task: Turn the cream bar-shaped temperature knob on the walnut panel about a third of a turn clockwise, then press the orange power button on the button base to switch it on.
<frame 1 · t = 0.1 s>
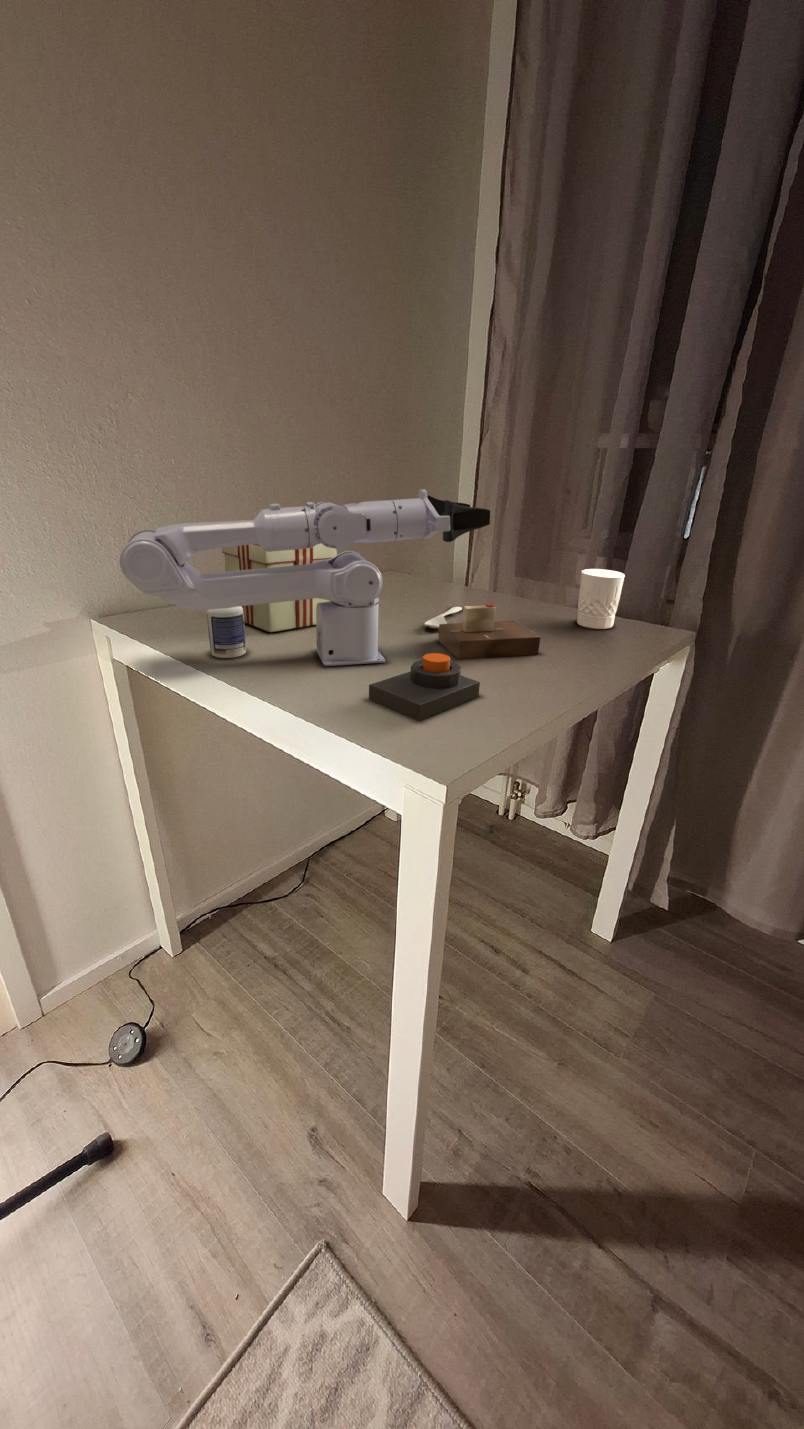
hand: (478, 514, 93), 22 cm above the table, tool horizontal, fingers open, 7 cm apart
pill bottle: (228, 654, 96), on the table
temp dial: (478, 617, 101), point 5 cm above the table, hinge at 0.0°
power button: (436, 663, 81), point 4 cm above the table, slide at 0.1 cm
button base: (424, 698, 82), on the table
white cup: (594, 625, 120), on the table
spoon: (445, 620, 119), on the table
gift box: (285, 618, 116), on the table
dial panel: (487, 647, 104), on the table
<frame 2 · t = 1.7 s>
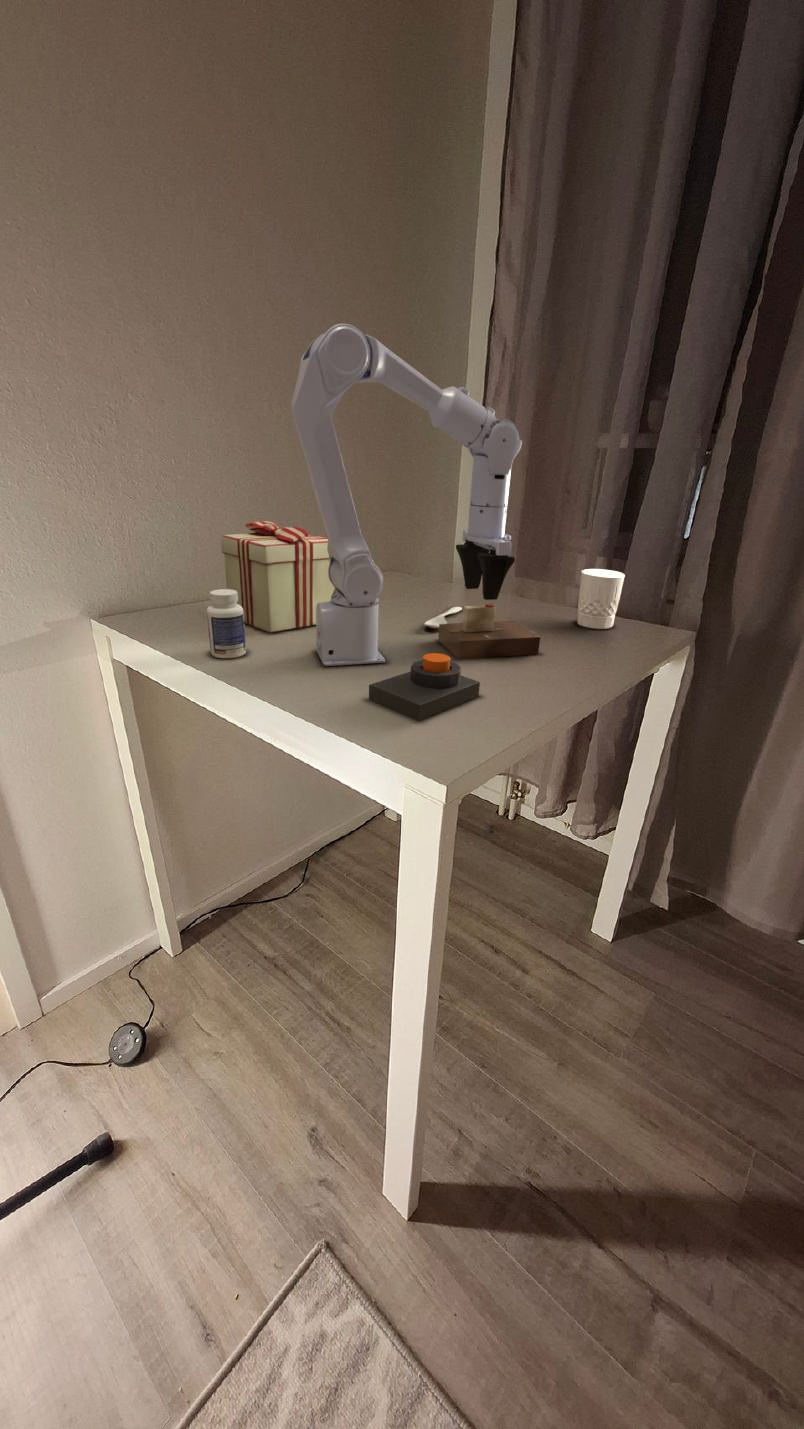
hand: (480, 593, 99), 9 cm above the table, tool pointing down, fingers open, 7 cm apart
nothing on the table moved.
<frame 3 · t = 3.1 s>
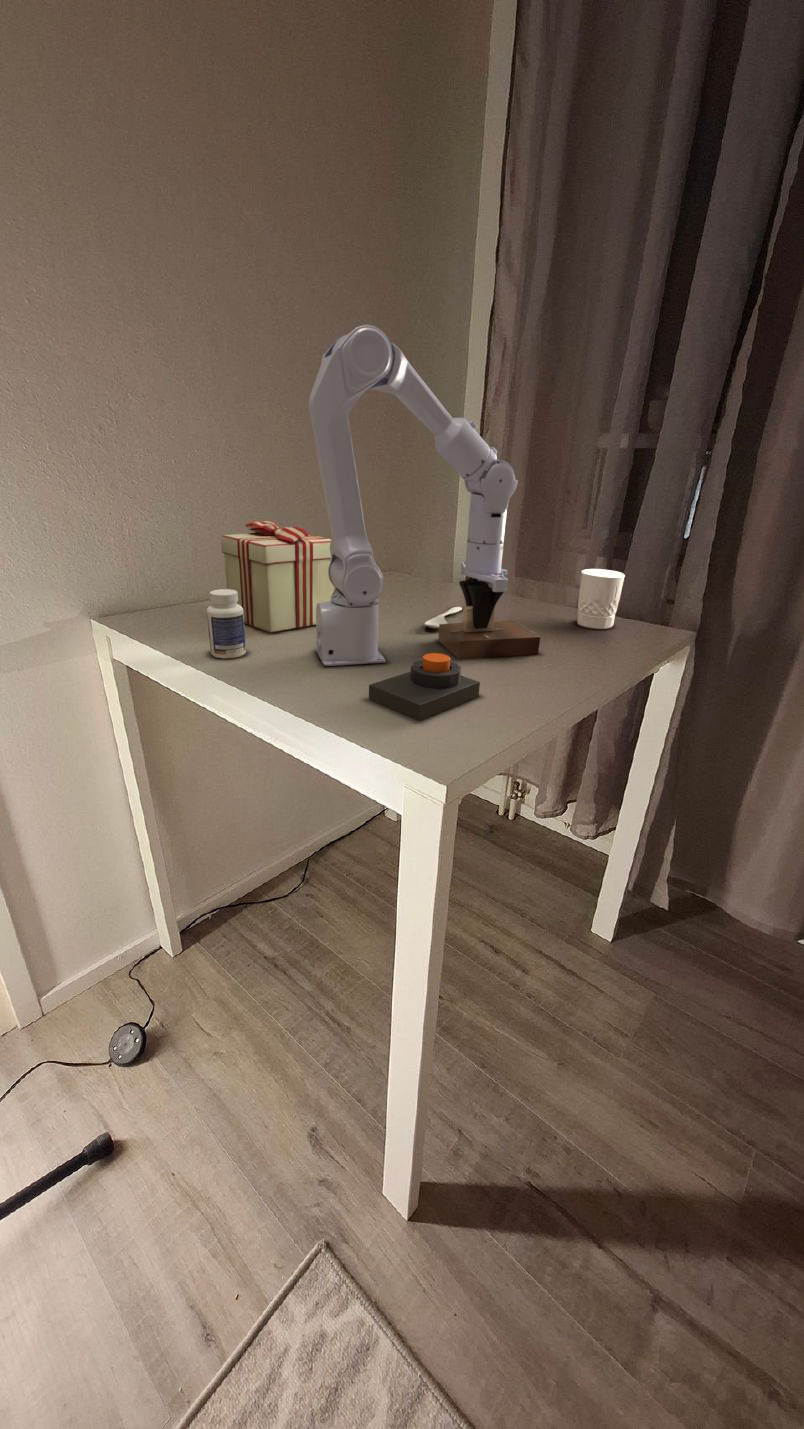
hand: (478, 626, 102), 4 cm above the table, tool pointing down, fingers closed on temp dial, 2 cm apart
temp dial: (478, 617, 101), point 5 cm above the table, hinge at 0.0°, touching gripper
everything else where it was.
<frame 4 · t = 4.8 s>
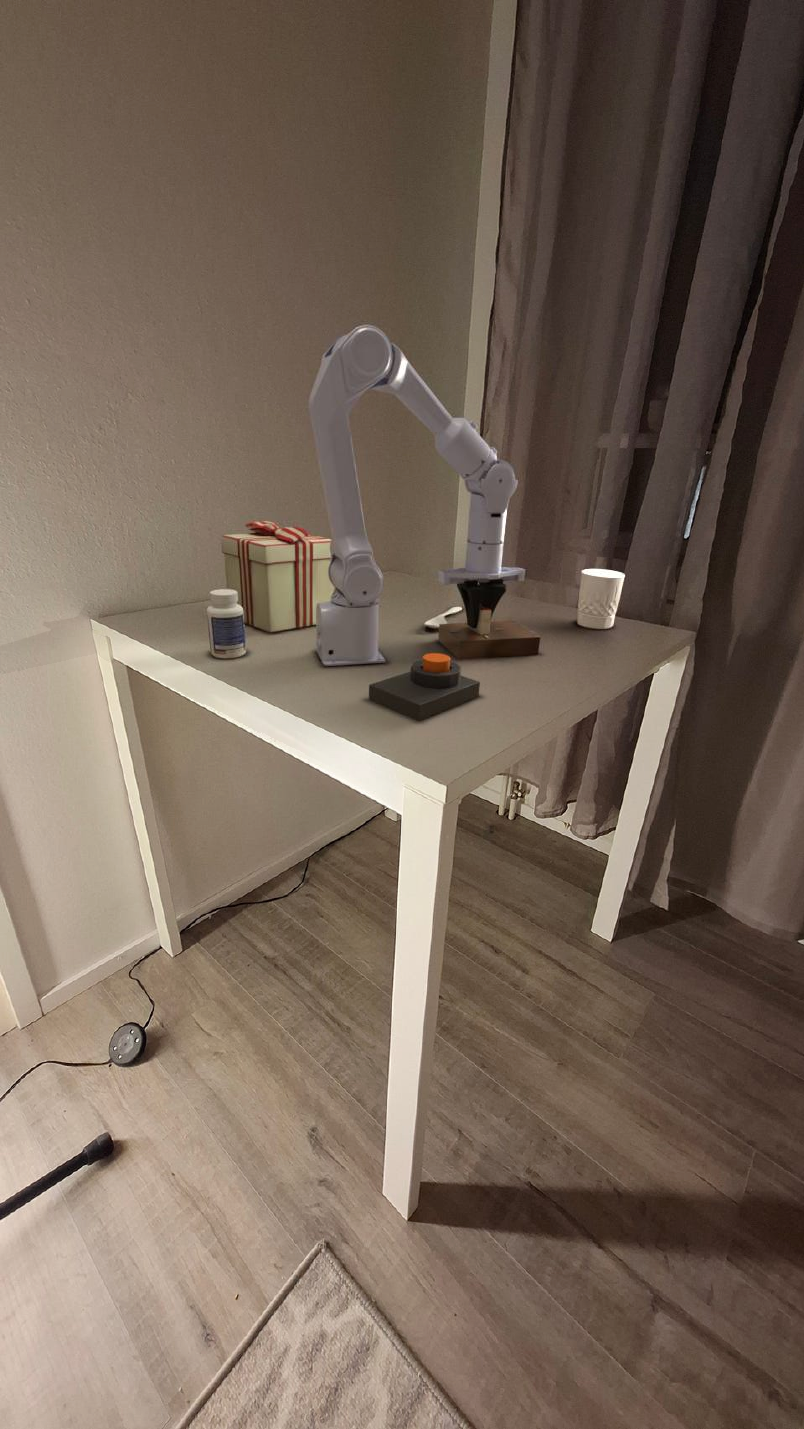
hand: (477, 626, 102), 4 cm above the table, tool pointing down, fingers closed on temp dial, 2 cm apart
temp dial: (478, 617, 101), point 5 cm above the table, hinge at -84.5°, touching gripper
everything else where it was.
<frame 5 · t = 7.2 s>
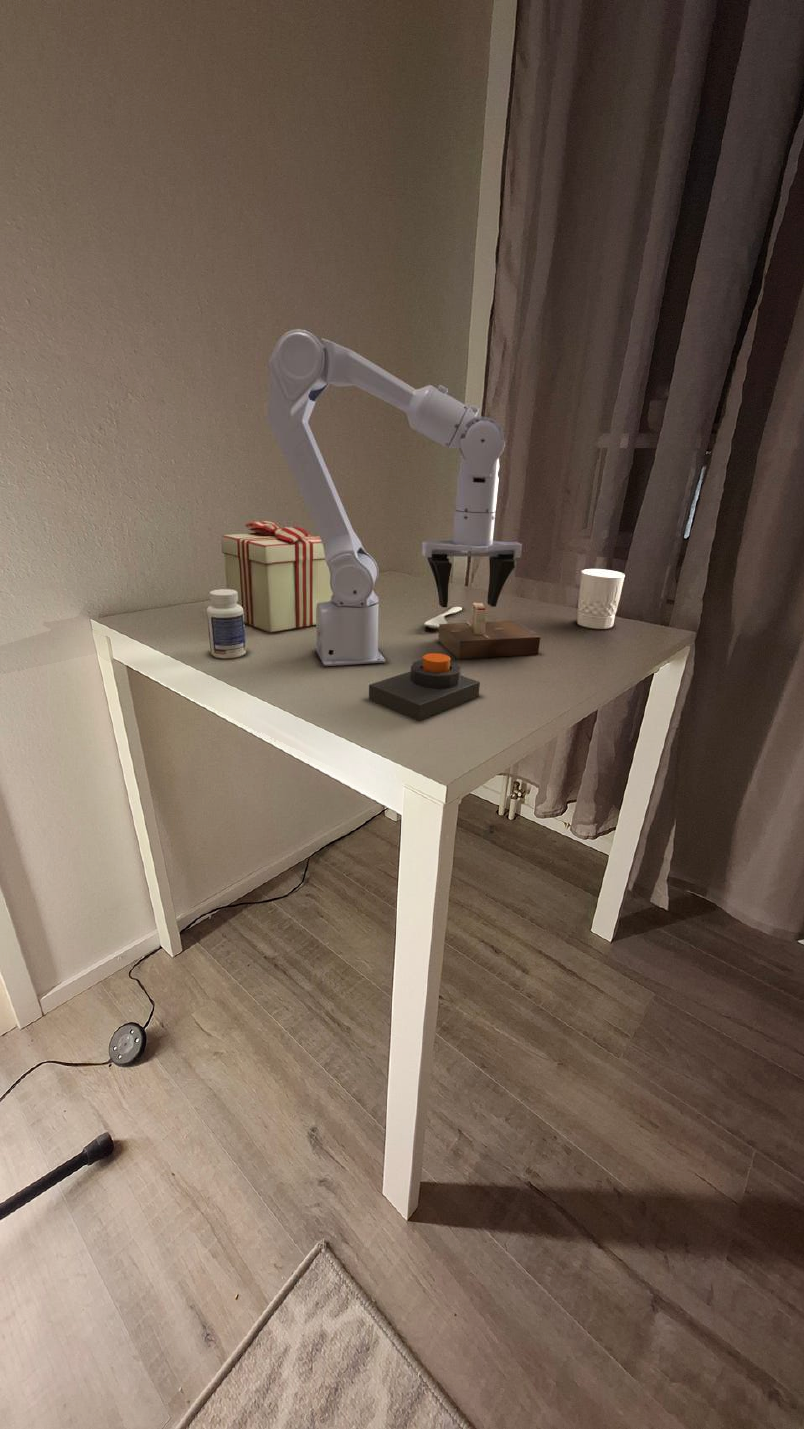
hand: (467, 605, 93), 9 cm above the table, tool pointing down, fingers open, 7 cm apart
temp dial: (478, 617, 101), point 5 cm above the table, hinge at -105.0°
everything else where it was.
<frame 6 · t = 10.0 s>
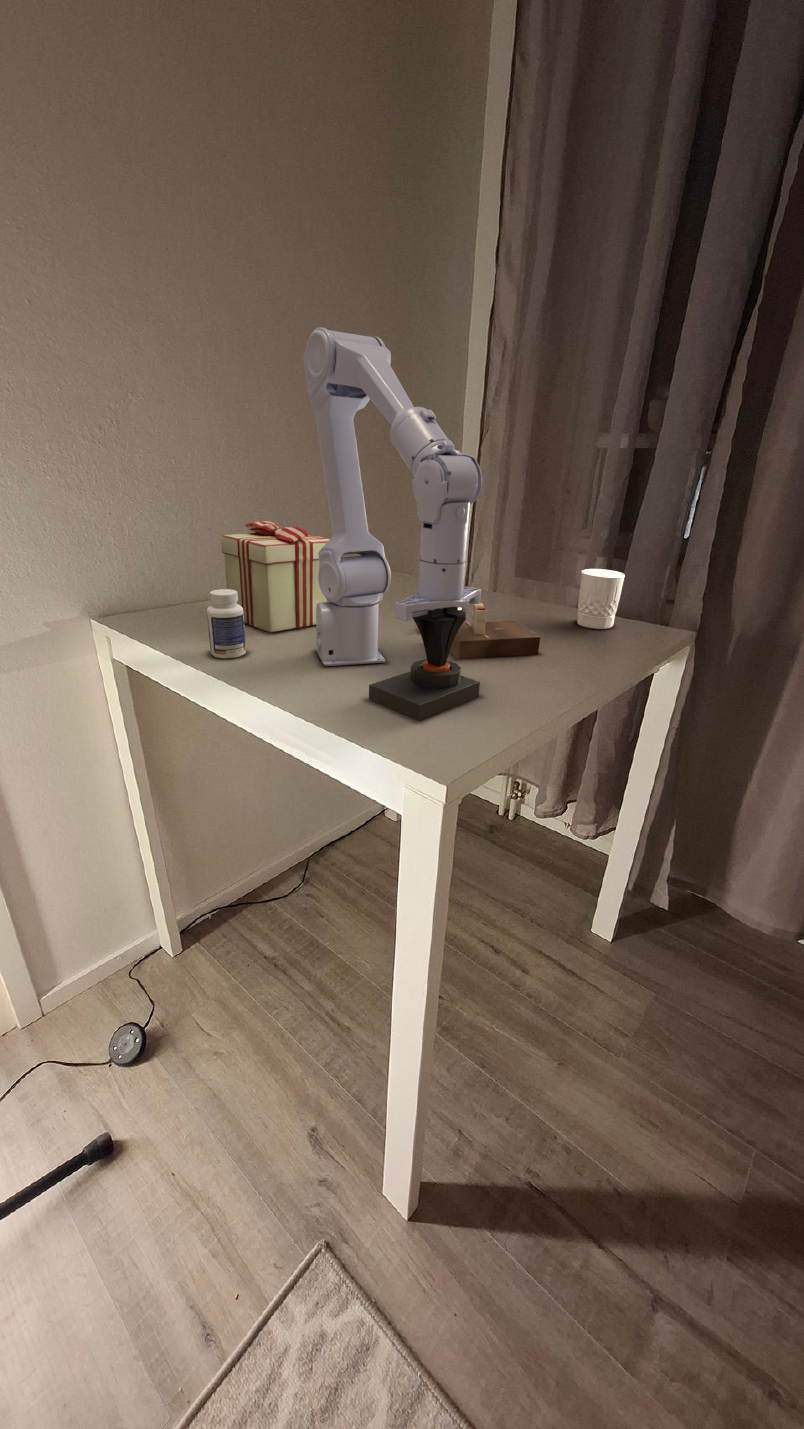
hand: (436, 664, 81), 4 cm above the table, tool pointing down, fingers closed, pressing on power button
power button: (435, 670, 82), point 4 cm above the table, slide at -0.8 cm, touching gripper
everything else where it was.
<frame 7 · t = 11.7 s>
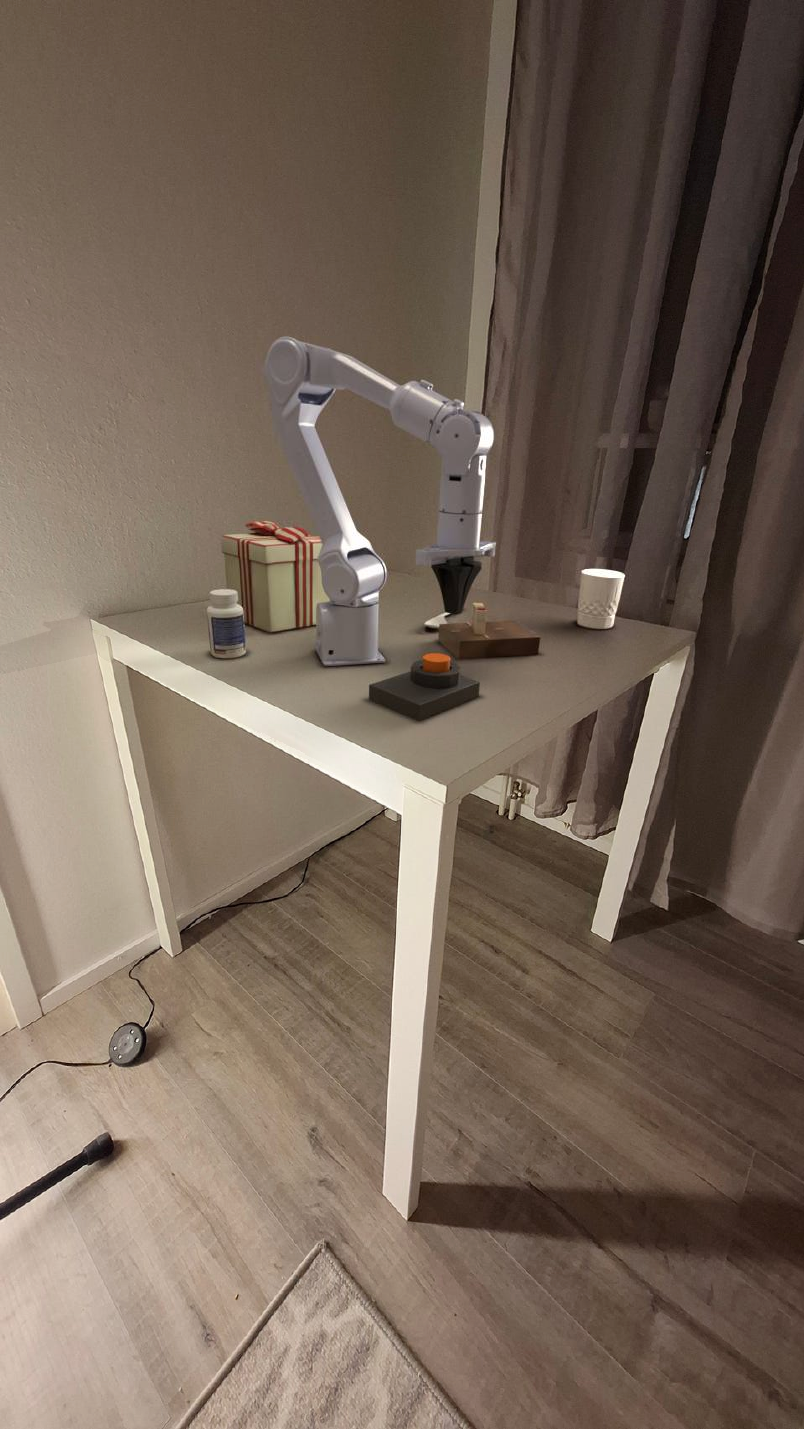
hand: (453, 612, 87), 9 cm above the table, tool pointing down, fingers closed
power button: (436, 663, 81), point 4 cm above the table, slide at 0.1 cm
everything else where it was.
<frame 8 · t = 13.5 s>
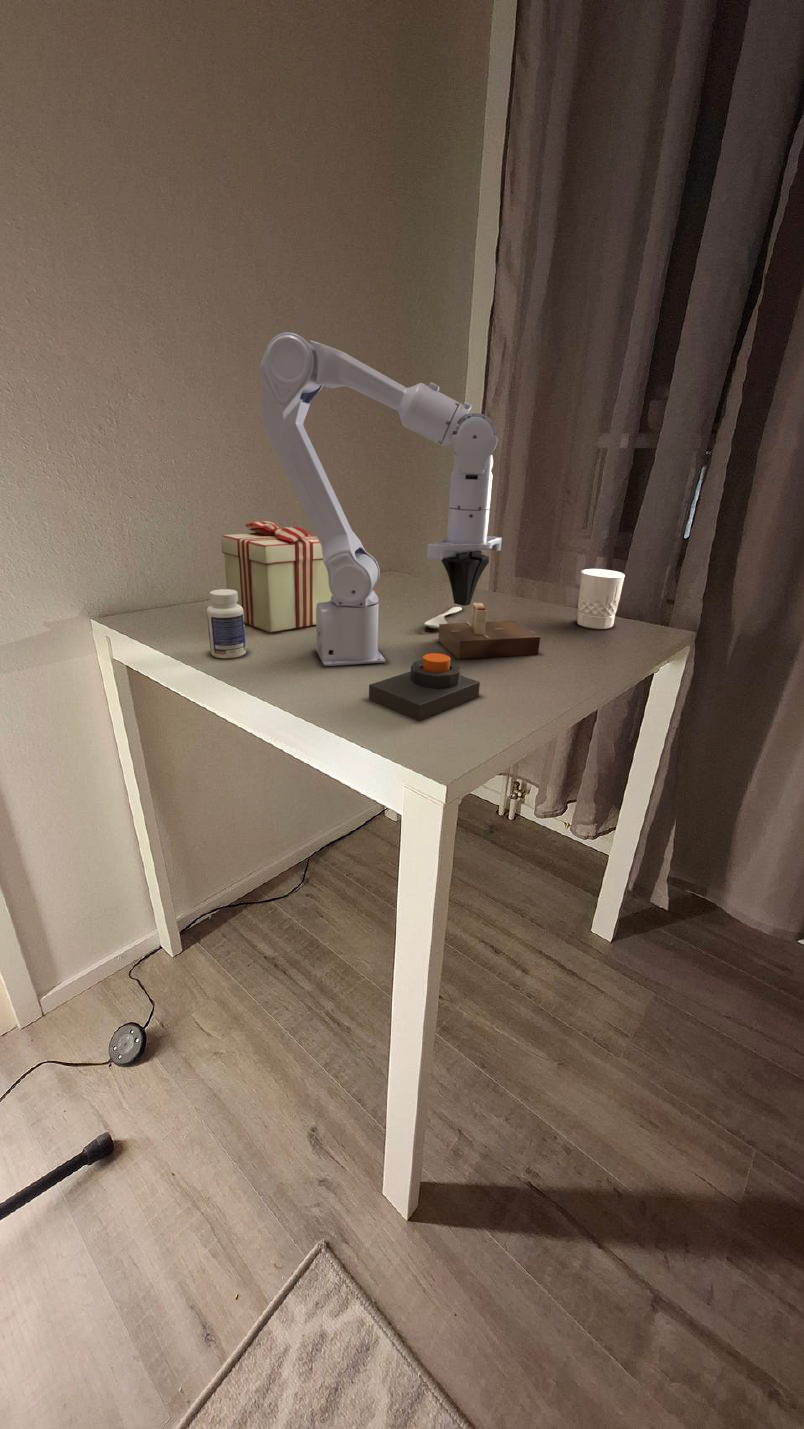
hand: (461, 604, 92), 9 cm above the table, tool pointing down, fingers closed
nothing on the table moved.
at the end: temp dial at -105° (first picture: +0°); power button pushed in 1.2 cm at the most during the clip, back to where it started at the end; power button slide at 0.1 cm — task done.
